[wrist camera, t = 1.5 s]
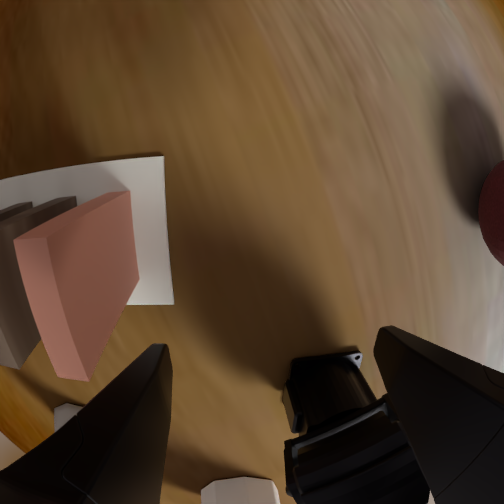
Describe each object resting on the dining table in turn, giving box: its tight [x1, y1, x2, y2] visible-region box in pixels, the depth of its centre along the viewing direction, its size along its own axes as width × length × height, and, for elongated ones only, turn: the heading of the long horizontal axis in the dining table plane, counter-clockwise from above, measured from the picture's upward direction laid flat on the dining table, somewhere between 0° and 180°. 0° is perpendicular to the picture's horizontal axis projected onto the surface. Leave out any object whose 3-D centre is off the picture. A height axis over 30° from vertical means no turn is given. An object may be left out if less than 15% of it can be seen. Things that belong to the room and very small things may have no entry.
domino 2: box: [13, 191, 140, 381], centre depth 13 cm, size 2×6×10 cm, turn 0°
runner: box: [0, 156, 174, 305], centre depth 17 cm, size 22×10×1 cm, turn 89°
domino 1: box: [0, 196, 77, 369], centre depth 13 cm, size 2×6×10 cm, turn 0°
